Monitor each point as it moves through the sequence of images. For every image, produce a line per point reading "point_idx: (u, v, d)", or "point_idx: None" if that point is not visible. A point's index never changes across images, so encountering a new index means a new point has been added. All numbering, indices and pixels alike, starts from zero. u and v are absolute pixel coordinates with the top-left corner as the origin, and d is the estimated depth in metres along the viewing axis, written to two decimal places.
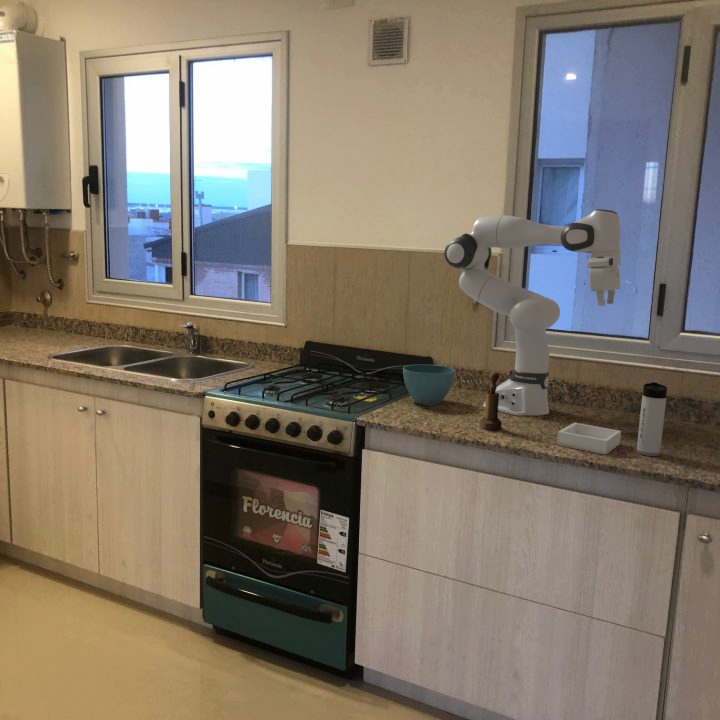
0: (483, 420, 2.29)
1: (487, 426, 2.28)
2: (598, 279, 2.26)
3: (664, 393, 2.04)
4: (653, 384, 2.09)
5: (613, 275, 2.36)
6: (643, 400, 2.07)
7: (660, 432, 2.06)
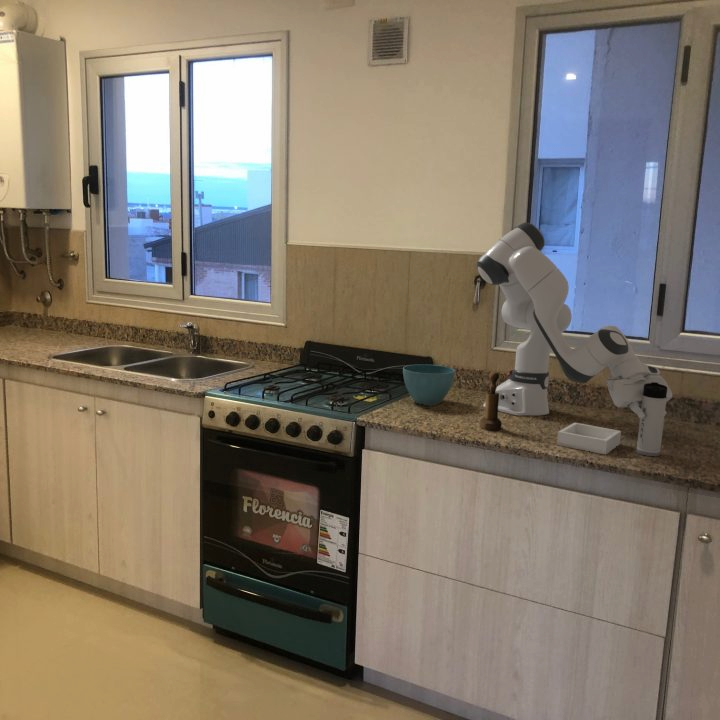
0: (483, 420, 2.29)
1: (487, 426, 2.28)
2: None
3: (664, 393, 2.04)
4: (653, 384, 2.09)
5: None
6: (643, 400, 2.07)
7: (660, 432, 2.06)
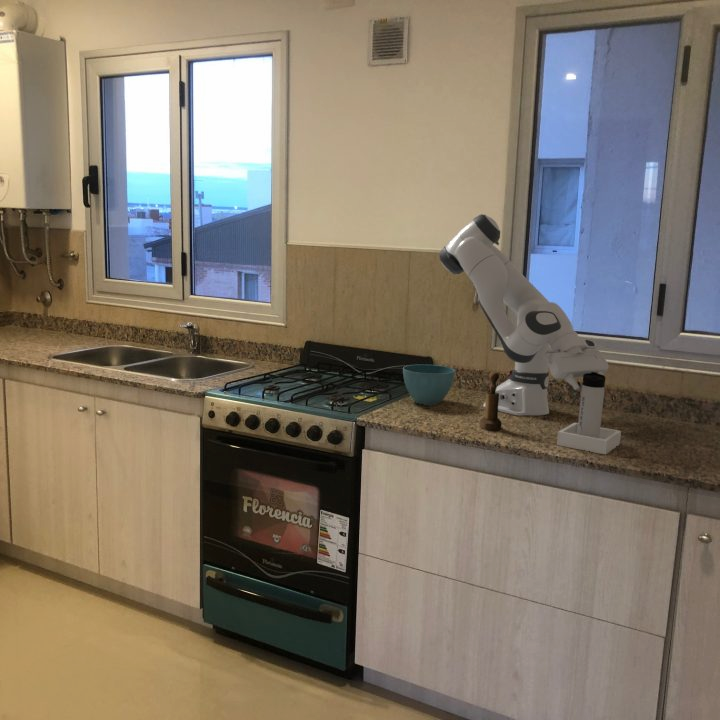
0: (483, 420, 2.29)
1: (487, 426, 2.28)
2: None
3: (602, 382, 2.10)
4: (593, 374, 2.15)
5: None
6: (582, 389, 2.13)
7: (598, 420, 2.12)
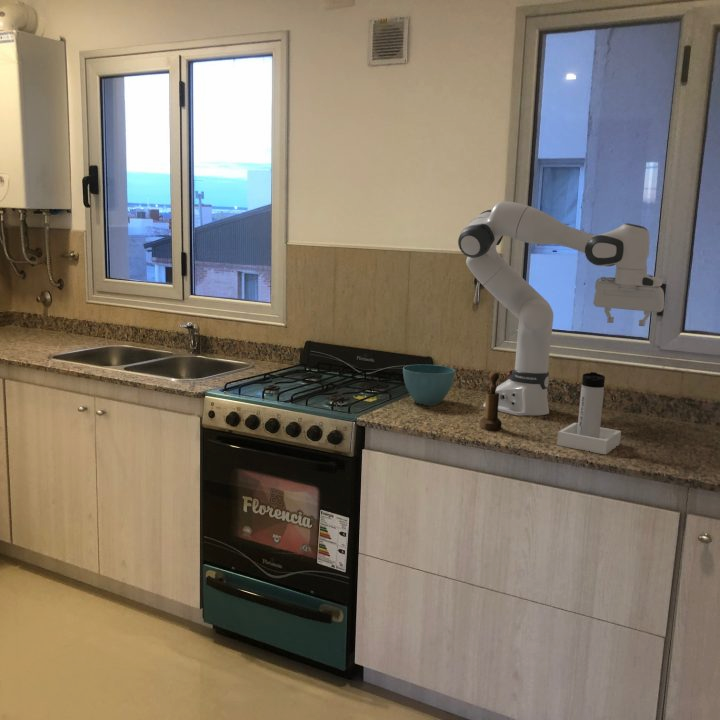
0: (483, 420, 2.29)
1: (487, 426, 2.28)
2: (663, 299, 2.18)
3: (602, 382, 2.10)
4: (592, 374, 2.15)
5: None
6: (582, 389, 2.13)
7: (598, 420, 2.12)
